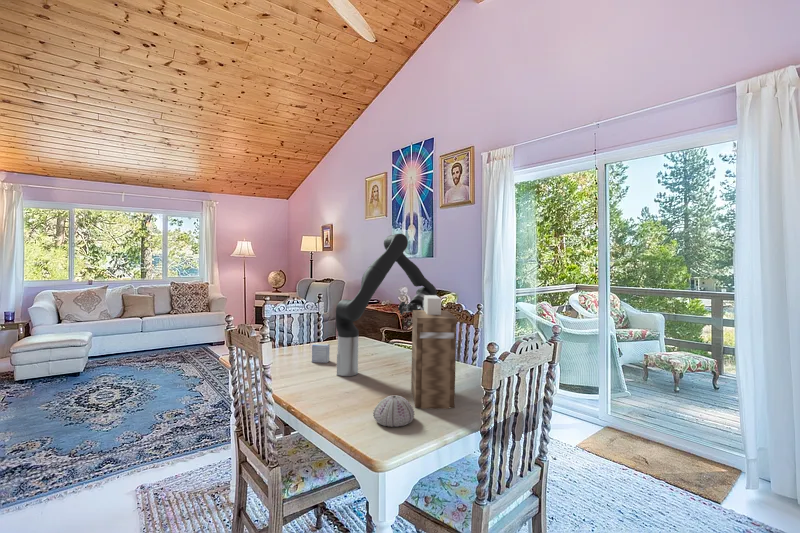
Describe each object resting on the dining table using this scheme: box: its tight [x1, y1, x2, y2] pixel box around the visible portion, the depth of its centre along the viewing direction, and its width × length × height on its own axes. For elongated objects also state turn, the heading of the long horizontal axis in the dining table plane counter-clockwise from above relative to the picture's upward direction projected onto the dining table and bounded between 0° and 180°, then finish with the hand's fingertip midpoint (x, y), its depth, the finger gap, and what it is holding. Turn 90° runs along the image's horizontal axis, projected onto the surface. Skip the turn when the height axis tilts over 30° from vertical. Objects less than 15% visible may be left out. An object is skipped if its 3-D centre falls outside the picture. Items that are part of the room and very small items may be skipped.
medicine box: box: [311, 342, 331, 364], centre depth 197 cm, size 8×4×9 cm, turn 84°
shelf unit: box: [410, 309, 458, 410], centre depth 148 cm, size 14×21×32 cm
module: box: [423, 294, 442, 315], centre depth 156 cm, size 5×21×6 cm, turn 3°
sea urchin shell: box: [372, 394, 415, 428], centre depth 128 cm, size 13×14×8 cm
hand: (410, 315), depth 176 cm, fingers open, 8 cm apart
